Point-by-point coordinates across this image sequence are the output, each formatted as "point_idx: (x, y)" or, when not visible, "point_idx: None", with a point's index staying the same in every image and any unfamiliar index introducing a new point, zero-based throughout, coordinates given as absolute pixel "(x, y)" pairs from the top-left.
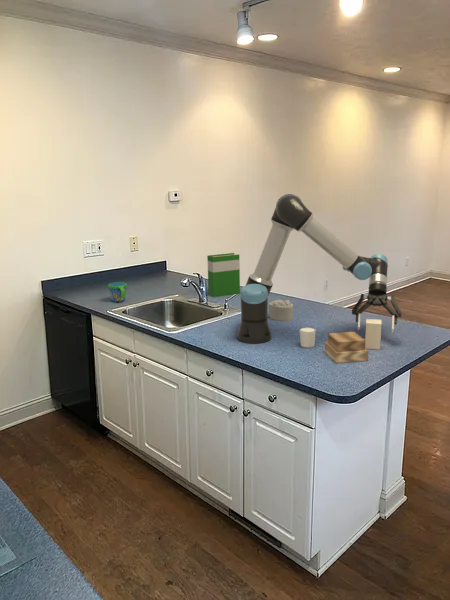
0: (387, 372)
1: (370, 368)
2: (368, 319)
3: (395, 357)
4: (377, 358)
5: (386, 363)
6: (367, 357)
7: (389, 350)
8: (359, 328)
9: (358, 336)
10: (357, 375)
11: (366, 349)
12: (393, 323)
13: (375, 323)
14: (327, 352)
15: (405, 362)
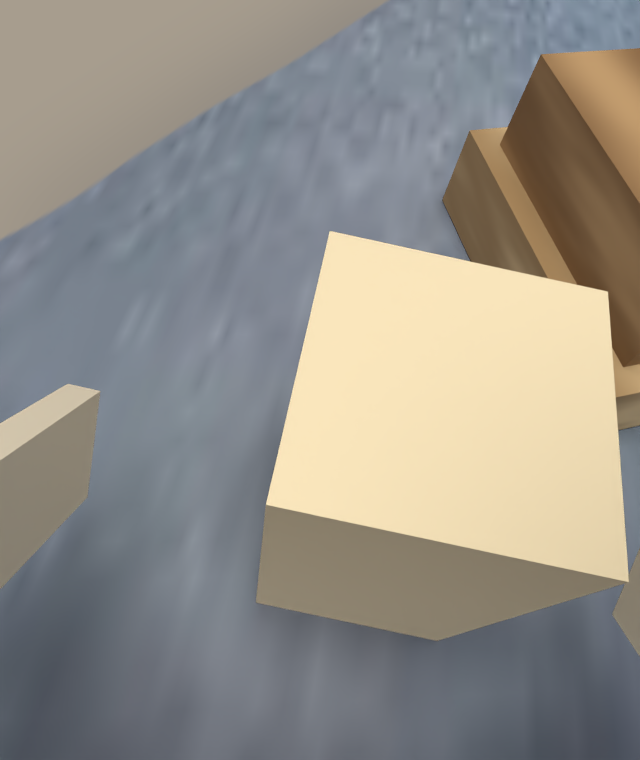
0: (336, 45)
1: (435, 95)
2: (577, 532)
3: (199, 245)
4: (360, 233)
5: (309, 151)
6: (455, 178)
7: (196, 408)
8: (637, 561)
9: (621, 146)
10: (516, 31)
11: (485, 154)
12: (11, 426)
13: (437, 264)
14: None
15: (154, 157)
